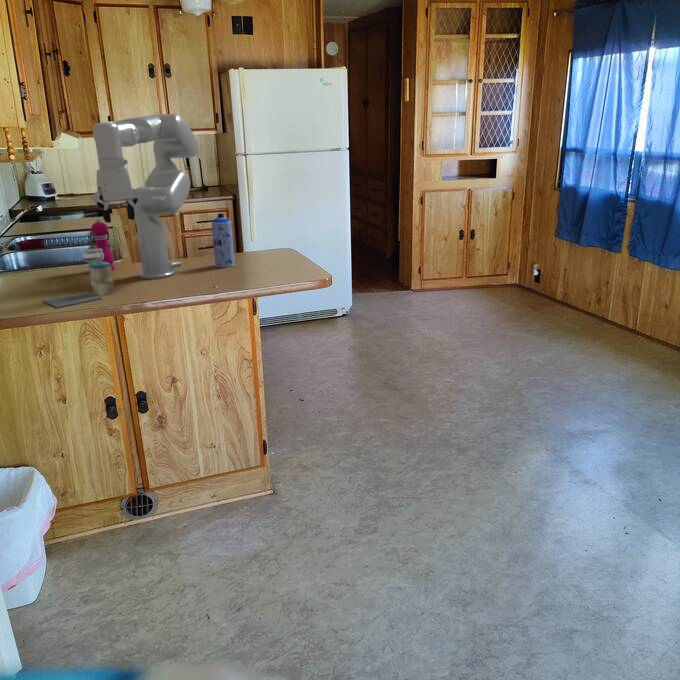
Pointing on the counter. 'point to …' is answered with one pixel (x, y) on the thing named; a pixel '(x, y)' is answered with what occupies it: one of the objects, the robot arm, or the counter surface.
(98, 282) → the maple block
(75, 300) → the rubber mat
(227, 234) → the aerosol can
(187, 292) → the counter surface
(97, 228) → the pepper mill
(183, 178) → the robot arm
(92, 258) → the wineglass
